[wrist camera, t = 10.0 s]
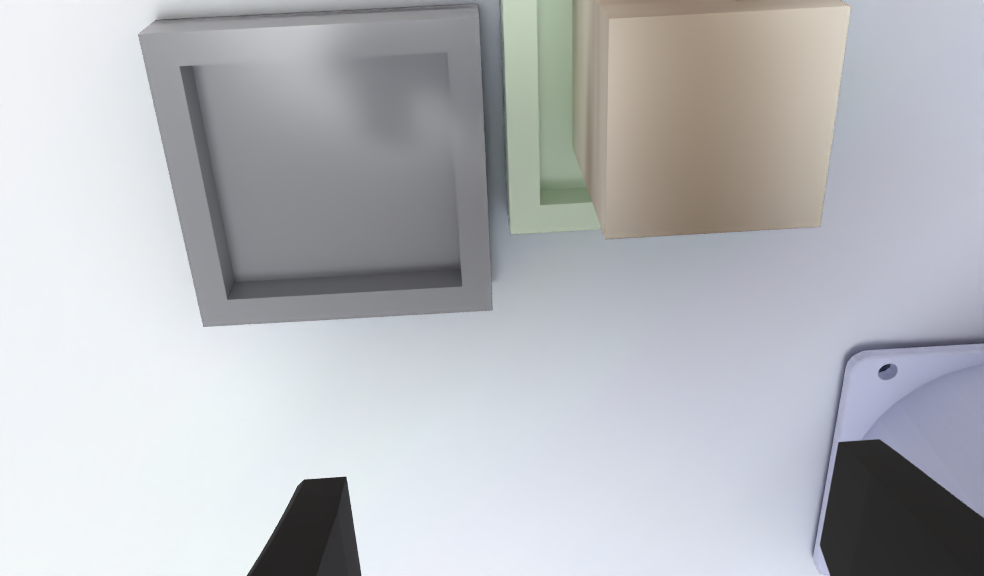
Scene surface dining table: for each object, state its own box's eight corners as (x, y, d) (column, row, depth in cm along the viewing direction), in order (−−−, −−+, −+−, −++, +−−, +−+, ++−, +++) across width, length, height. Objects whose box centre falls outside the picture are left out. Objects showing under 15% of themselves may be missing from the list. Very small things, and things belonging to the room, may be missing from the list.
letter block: (760, -48, 19) (852, -1, 15) (743, 137, 21) (819, 227, 17) (572, -38, 19) (609, 12, 15) (572, 146, 21) (605, 239, 17)
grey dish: (476, 3, 20) (479, 16, 19) (490, 285, 23) (492, 310, 22) (155, 20, 20) (137, 33, 19) (215, 300, 23) (203, 326, 22)
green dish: (829, -112, 19) (853, -106, 18) (790, 196, 23) (809, 217, 21) (496, -96, 19) (499, -89, 18) (507, 212, 22) (510, 234, 21)
